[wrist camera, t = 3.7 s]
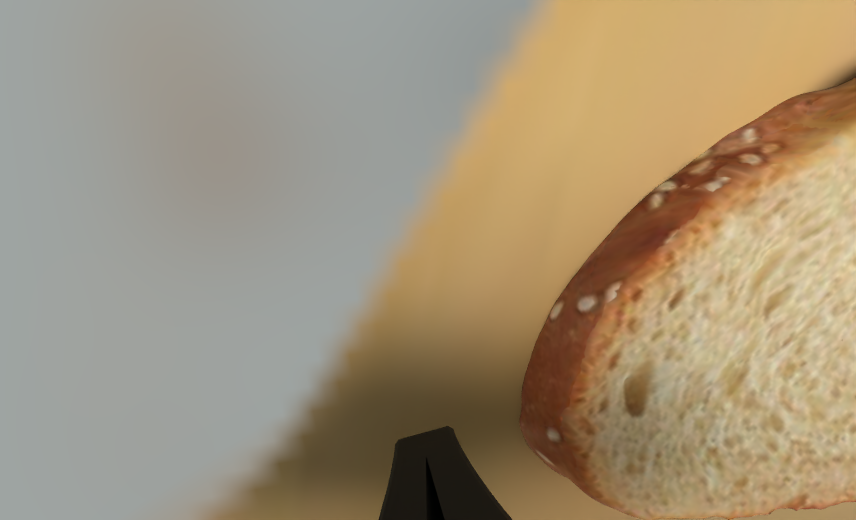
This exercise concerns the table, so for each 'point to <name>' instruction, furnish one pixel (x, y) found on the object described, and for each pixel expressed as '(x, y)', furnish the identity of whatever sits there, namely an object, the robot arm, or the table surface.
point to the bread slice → (715, 332)
